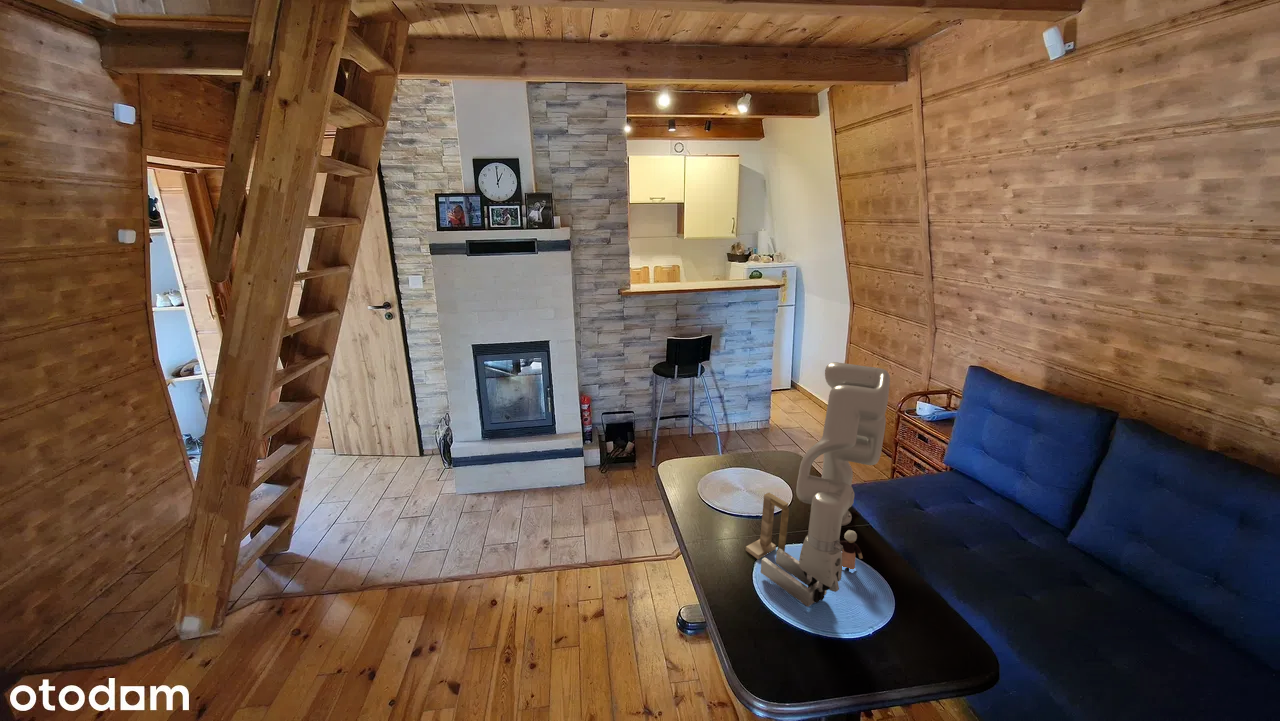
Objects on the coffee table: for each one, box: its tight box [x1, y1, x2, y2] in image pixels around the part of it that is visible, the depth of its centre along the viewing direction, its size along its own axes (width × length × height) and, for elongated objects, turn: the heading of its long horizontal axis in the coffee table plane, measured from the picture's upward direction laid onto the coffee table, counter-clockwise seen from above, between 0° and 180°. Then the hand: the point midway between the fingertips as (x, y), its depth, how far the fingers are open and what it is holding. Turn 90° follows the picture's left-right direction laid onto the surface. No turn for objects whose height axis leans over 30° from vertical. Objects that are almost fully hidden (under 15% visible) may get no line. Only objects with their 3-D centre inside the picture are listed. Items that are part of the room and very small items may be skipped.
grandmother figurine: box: [839, 529, 864, 569], centre depth 143 cm, size 8×4×13 cm, turn 71°
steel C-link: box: [760, 548, 828, 608], centre depth 137 cm, size 16×8×4 cm, turn 36°
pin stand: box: [745, 492, 790, 560], centre depth 148 cm, size 8×10×19 cm
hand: (815, 597), depth 132 cm, fingers closed on steel C-link, 1 cm apart
